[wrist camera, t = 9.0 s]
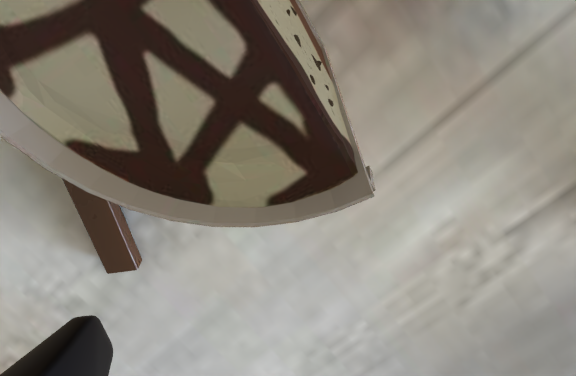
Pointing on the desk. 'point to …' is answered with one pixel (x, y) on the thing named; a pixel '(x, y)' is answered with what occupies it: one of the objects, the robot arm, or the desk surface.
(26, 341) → the desk surface
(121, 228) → the walnut spoon
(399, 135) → the desk surface
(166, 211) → the food container
